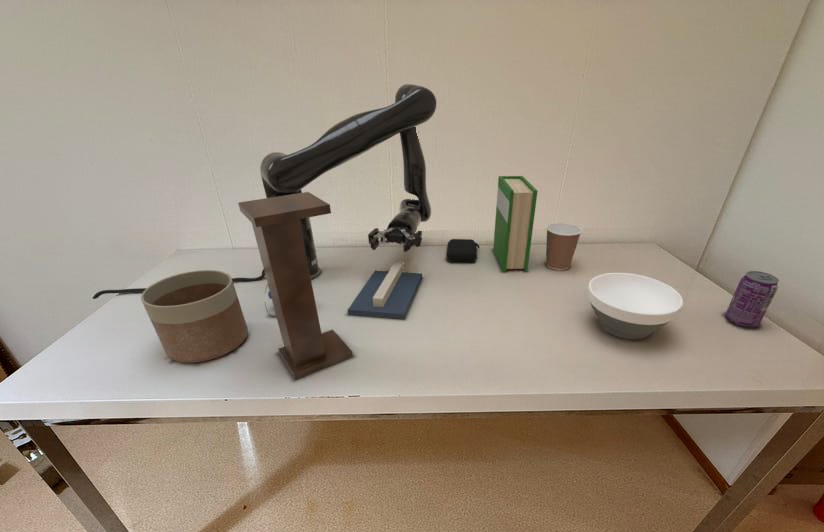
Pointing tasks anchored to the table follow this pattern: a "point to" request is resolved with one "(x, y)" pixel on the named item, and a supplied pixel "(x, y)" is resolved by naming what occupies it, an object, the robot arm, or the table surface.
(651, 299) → the bowl
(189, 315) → the planter
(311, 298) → the pedestal
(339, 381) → the table surface
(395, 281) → the rod
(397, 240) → the robot arm
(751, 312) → the beverage can
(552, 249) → the coffee cup
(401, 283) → the notebook
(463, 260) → the carrying case
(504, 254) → the hardback book
